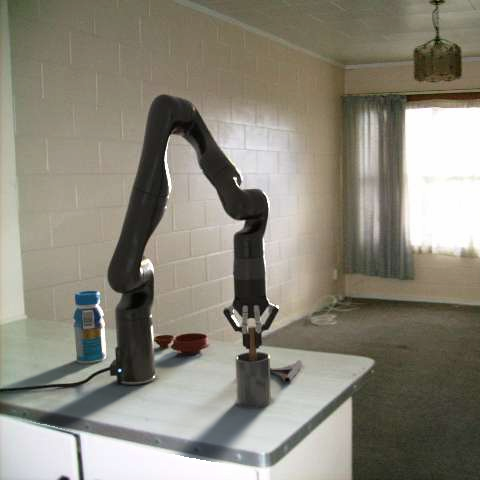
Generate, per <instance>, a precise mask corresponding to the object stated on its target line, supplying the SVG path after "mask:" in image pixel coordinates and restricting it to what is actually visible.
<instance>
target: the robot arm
mask: <svg viewBox="0 0 480 480" xmlns="http://www.w3.org/2000/svg"><path fill="white" fill-rule="evenodd" d="M200 113H201V112H199V110H198V108H197V107H196V105H194V103H193V102H192V101H190V100H188V99H186V98H182V97H178V96H174V95H170V94H167V93H161V94H159V95H156V97H154V98H153V100H152V102H151V103H150V106H149V109H148V112H147V118H146V123H145V130H144V135H143V136H144V137H143V141H142V142H143V143H142V148H141V152H140V157H139V163H138V167H137V169H136V174H135V178H134V181H133V184H132V187H131V191H130V195H129V200H128V205H127V208H126V212H125V216H124V219H123V223H122V225H121V231H120V233H119V234H120V235H119V238H118V241H117V243H116V245H115V248H114V250H113V253H112V256H111V259H110V261H109V264H108V267H107V272H106V280H107V283H108V286H109V287H110V289H112V290H113V291H114V292H115V293H118V294H121V296H120V300H119V302H117V305H116V306H115V308H114V316H115V331H116V332H115V333H116V347H115V348H114V353H115V358H114V359H113V361H112V362H111V363H110V364H109V366H107V367H104V368H102V369H100V370H96V371H95V372H93V373H91V374H90V375H89V376H88V377H86V378H85V379H82V380H80V381H76V382H69V383H68V382H67V383H50V384H40V385H29V386H17V387H3V388H0V393H8V392H9V393H10V392H23V391H33V390H45V389H52V388H69V387H71V388H72V387H77V386H81V385H84V384H87V383H88V382H91V380H92V379H93V378H95V377H96V376H98V375H101V374H104V373H105V372H109V376H110V377H116V384H117V385H124V386H140V385H145V384H148V383H151V382H154V381H155V379H156V378H157V375H156V364H155V363H156V362H155V347H154V346H155V345H154V342H155V341H154V339H153V338H154V326H153V306H154V303H155V272H154V271H155V270H154V266H153V264H152V262H151V260H150V259H149V258H148V257H147V256H145V255H144V254H145V250H146V247H147V245H148V242H149V240H150V239H151V237H152V235H153V234H154V233H155V231H156V230H157V228H158V226H159V225H160V223H161V222H162V219H163V218H164V215H165V214H166V211H167V206H168V202H169V200H170V196H171V191H172V181H171V177H170V172H169V167H168V163H167V150H168V146H169V141H170V137H171V135H172V136H180V137H182V138H183V139H184V140H185V141H186V142H188V144H189V145H190V146H191V147H192V148H193V150H194V152H195V155H196V160H197V164H198V167H199V169H200V171H201V173H202V174H203V176H204V177H205V178H206V179H207V181H208V182H209V183H210V185H211V186H212V187H213V188H214V189H215V191H216V194H217V197H218V199H219V201H220V204H221V206H222V209H223V210H224V212H225V214H226V215H227V216H228V217H229V218H231V219H232V220H234V221H238V222H241V221H243V222H244V224H243V227H242V228H241V229H240V230H238V231H236V232H235V233H234V235H233V238H232V239H233V240H232V241H233V242H232V243H233V263H232V264H233V265H232V269H233V271H232V275H233V295H234V296H233V300H232V304H231V305H229V306H226V307H224V308H223V311H222V313H223V315H224V317H225V319H226V320H227V321H228V323H229V324H230V326H231V327H232V329H233V330H234V332H235V333H241V335H242V336H241V337H242V346H243V347H244V348H245V350H249V336H248V327H249V326H248V324H249V322H248V321H249V319H254V322H255V323H254V325H255V327H256V349H257V350H258V349H260V347H262V345H263V332H264V331H268V330H269V329H270V328H271V326H272V324H273V323H274V320H275V319H276V316H277V315H278V313H279V311H280V308H279V305H277V304H272V303H270V300H269V299H268V292H267V291H268V289H267V265H266V260H265V239H264V238H265V235H266V231H267V225H268V221H269V216H270V211H271V210H270V208H271V207H270V201H269V197H268V196H267V194H266V193H265V192H264V191H263V190H262V189H260V188H245V189H244V188H243V189H242V188H241V185H242V183H243V175H242V173H241V171H240V170H239V169H238V168H237V166H236V165H235V164H234V163H233V162H232V160H231V159H230V158H229V157H228V156H227V154H226V153H225V152H224V151H223V149H222V148H221V147H220V145H219V144H218V142H217V141H216V139H215V138H214V136H213V134H212V133H211V130H210V129H209V128H208V126H207V124H206V122H205V120H204V118H203V116H202V115H201V114H200ZM267 309H268V316H267V317H266V319H265V322H264V323H262V319H261V317H262V316H263V315H264V313H265V312H266V310H267ZM234 310H235V311H234ZM235 312H236V313H237V314H238V315H239V316H240V317H241V318H242V319H241V324H239V322H238V321H237V319H236V318H235V316H234V314H235Z"/></svg>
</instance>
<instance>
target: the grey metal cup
mask: <svg viewBox="0 0 480 480" xmlns="http://www.w3.org/2000/svg"><path fill="white" fill-rule="evenodd" d="M234 361H235V385H236V404H237V406H239V407H241V408H244V409H245V408H246V409H258V408H263V407H266V406H268V405H270V404H271V402H272V388H271V385H272V384H271V374H270V368H271V355H270V354H269V353H266V352H264V351H263V352H262V351H257V361H254V362H249V351H248V352H243V353H240V354H238V355H236V356H235V360H234Z"/></svg>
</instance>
